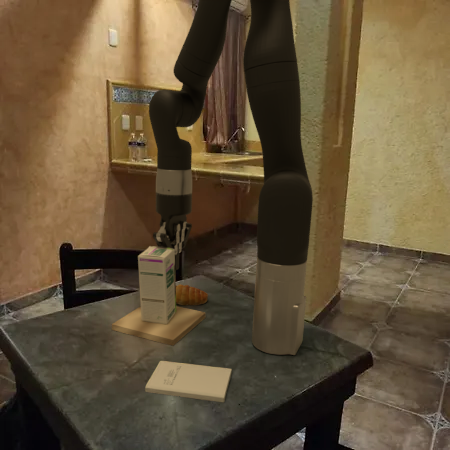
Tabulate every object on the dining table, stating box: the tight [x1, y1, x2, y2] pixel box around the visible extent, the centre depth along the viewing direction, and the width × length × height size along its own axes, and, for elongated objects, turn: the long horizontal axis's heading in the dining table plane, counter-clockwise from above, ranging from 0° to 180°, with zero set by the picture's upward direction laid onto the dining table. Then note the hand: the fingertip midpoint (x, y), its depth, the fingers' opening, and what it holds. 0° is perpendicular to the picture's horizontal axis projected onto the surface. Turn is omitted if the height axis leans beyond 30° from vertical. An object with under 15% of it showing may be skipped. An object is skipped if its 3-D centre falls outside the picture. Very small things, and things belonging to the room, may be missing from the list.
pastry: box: [176, 284, 209, 306], centre depth 103 cm, size 9×7×4 cm
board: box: [111, 305, 207, 346], centre depth 91 cm, size 14×14×1 cm
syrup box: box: [137, 245, 177, 324], centre depth 89 cm, size 6×6×14 cm
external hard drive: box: [144, 360, 233, 403], centre depth 71 cm, size 2×8×12 cm
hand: (172, 269), depth 95 cm, fingers closed
